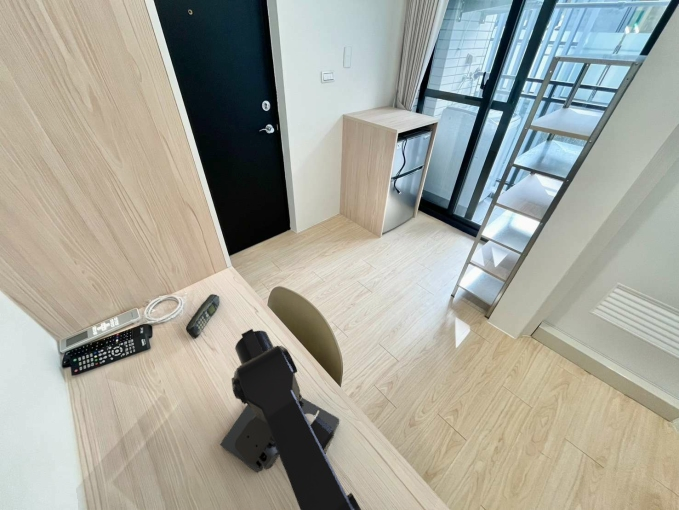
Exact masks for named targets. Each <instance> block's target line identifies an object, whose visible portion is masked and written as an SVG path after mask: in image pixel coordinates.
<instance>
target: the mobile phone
mask: <svg viewBox="0 0 679 510" xmlns="http://www.w3.org/2000/svg"><path fill="white" fill-rule="evenodd" d="M219 304H220V296H219V295H217V294H213V293H211V294H209V295H208V297H206V299H205V300H204V301H203V302H202V303H201V305H200V306H199V308H198V309H197V310H196V312H194V314H193V316H192V317H191V318H190V319H189V321H188V323H187V324H186V327H185V331H186V333H187V334H188V335H189V336H190V337H191V338H193V339H197V338H199V336H200V334H201V332H203V330H204V328H205V326H206V325H207V324H208V322H209V321H210V319H211V318H212V317H213V315H215V313H216V312H217V309H218V307H219Z"/></svg>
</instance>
